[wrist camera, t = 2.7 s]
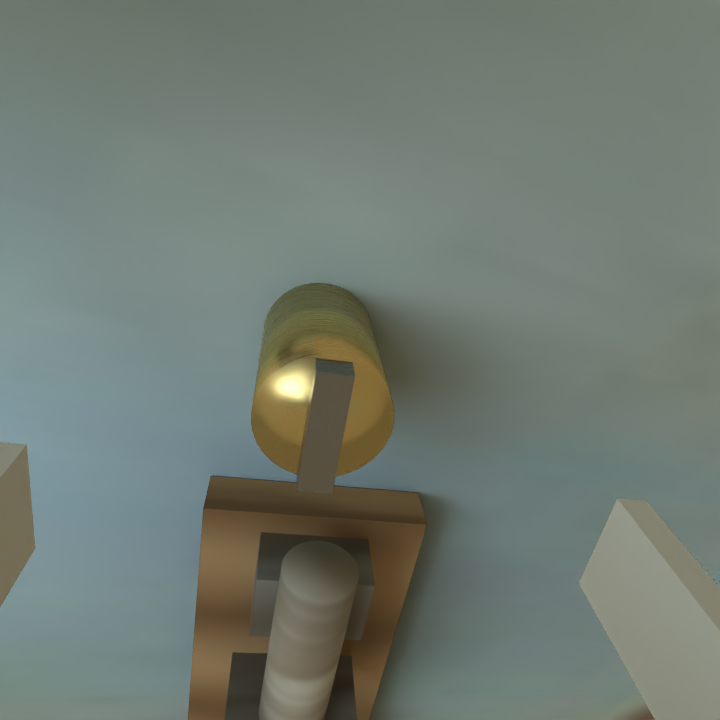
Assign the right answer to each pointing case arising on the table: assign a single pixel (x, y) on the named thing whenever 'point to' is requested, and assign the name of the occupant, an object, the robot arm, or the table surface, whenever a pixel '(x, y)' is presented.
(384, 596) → the double roll holder
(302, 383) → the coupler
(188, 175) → the table surface
